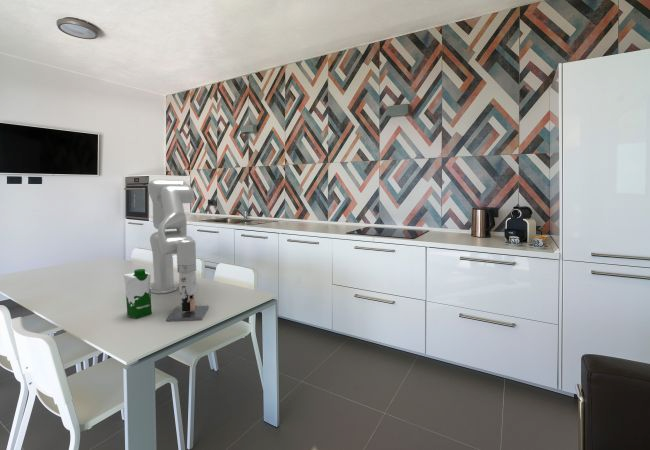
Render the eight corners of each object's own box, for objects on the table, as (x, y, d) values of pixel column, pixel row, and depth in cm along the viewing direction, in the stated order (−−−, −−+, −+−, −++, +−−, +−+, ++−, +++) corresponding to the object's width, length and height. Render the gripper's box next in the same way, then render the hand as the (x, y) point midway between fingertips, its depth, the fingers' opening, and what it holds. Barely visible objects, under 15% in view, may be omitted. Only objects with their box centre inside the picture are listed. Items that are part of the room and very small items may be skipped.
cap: (193, 311, 143) (192, 301, 143) (180, 311, 142) (180, 302, 142) (196, 307, 148) (195, 297, 148) (184, 307, 148) (183, 298, 147)
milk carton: (134, 320, 139) (131, 273, 136) (123, 315, 144) (121, 269, 142) (154, 313, 146) (152, 268, 144) (144, 309, 151) (142, 265, 149)
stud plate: (166, 321, 138) (165, 311, 137) (176, 309, 152) (176, 300, 151) (201, 320, 139) (201, 310, 139) (208, 308, 153) (208, 299, 153)
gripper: (190, 272, 135) (191, 315, 137) (200, 263, 152) (202, 301, 154) (170, 273, 134) (172, 316, 136) (183, 263, 151) (185, 302, 153)
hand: (188, 308), depth 145 cm, fingers closed on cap, 5 cm apart
